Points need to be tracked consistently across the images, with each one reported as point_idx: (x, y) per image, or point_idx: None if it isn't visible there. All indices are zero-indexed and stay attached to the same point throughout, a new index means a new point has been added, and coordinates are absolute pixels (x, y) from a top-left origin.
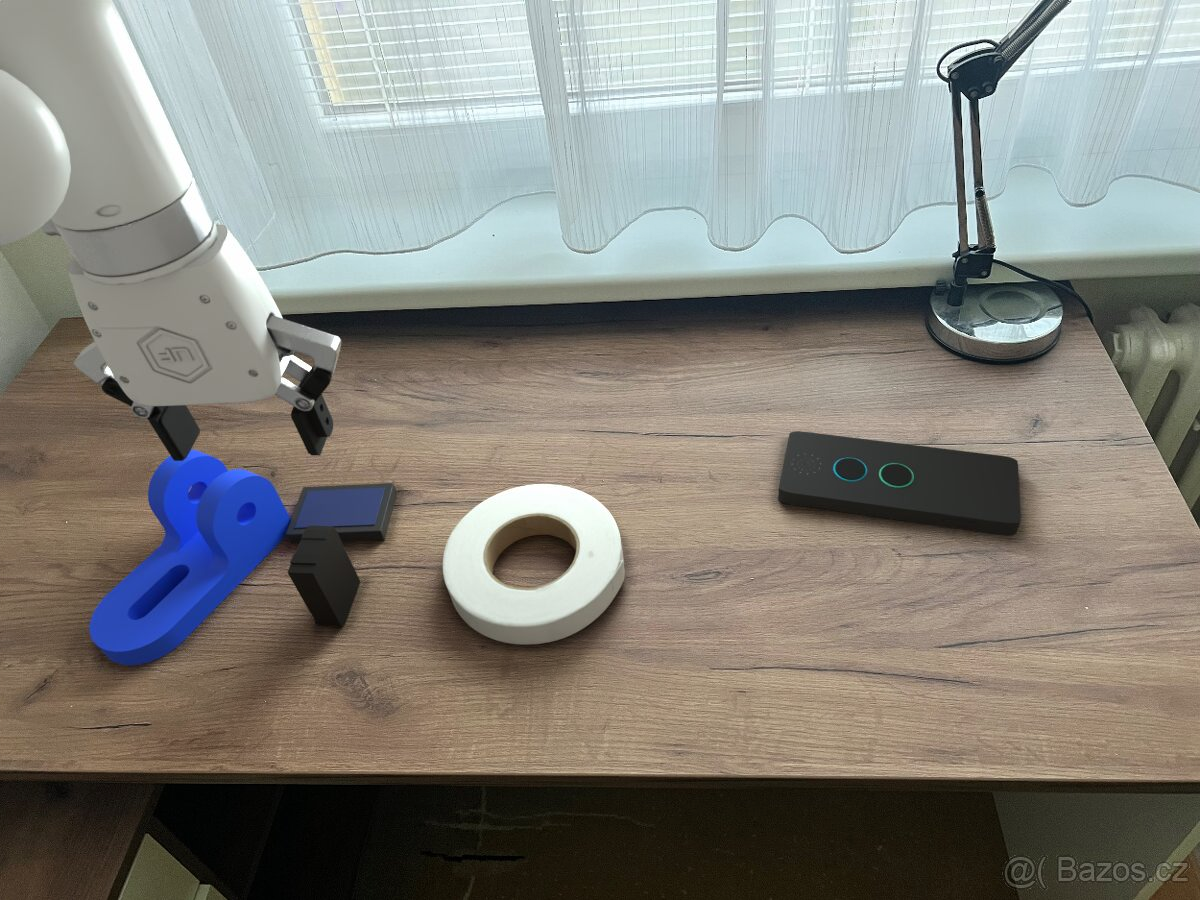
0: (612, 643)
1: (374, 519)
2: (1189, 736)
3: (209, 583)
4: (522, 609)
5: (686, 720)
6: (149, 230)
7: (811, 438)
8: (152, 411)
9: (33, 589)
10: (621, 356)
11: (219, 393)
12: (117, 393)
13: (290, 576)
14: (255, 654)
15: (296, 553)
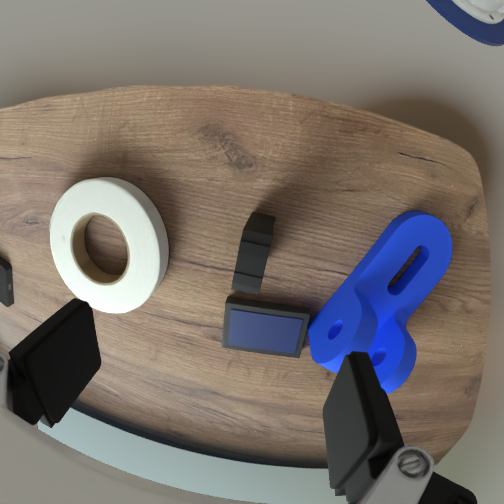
0: (67, 175)
1: (232, 314)
2: None
3: (370, 271)
4: (98, 195)
5: (42, 124)
6: None
7: (1, 299)
8: (387, 461)
9: (480, 293)
10: (98, 397)
11: (23, 476)
12: (451, 500)
13: (271, 233)
14: (327, 199)
15: (264, 258)
